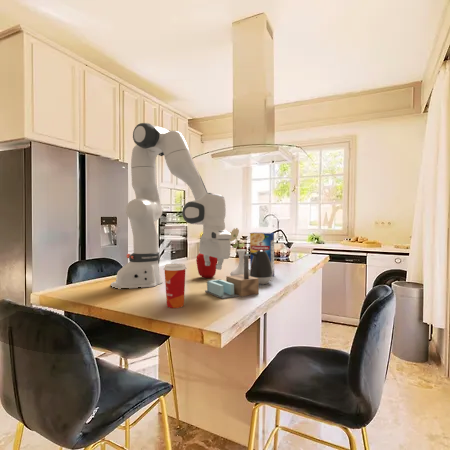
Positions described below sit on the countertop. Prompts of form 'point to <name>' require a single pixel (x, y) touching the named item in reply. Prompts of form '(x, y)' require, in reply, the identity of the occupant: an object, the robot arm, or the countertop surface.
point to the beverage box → (262, 246)
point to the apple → (206, 270)
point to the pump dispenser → (261, 267)
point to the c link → (220, 287)
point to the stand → (244, 281)
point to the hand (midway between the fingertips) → (213, 267)
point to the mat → (224, 295)
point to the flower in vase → (241, 252)
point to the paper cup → (175, 284)
